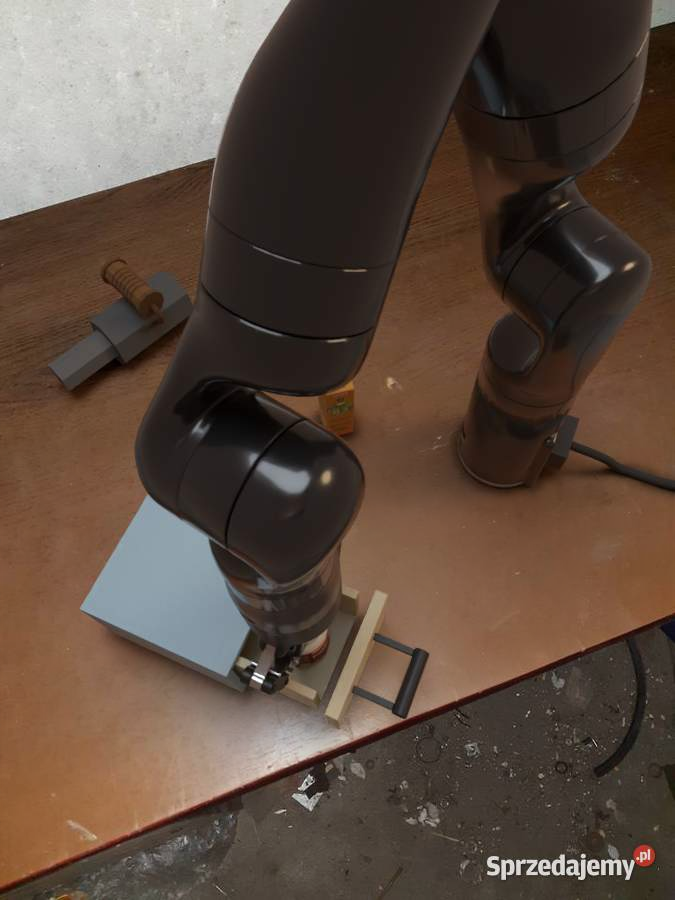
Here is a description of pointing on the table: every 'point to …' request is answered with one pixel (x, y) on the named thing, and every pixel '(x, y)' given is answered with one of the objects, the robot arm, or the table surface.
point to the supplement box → (338, 410)
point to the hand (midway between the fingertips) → (303, 631)
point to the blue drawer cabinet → (170, 596)
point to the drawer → (315, 679)
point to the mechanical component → (125, 322)
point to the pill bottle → (316, 649)
